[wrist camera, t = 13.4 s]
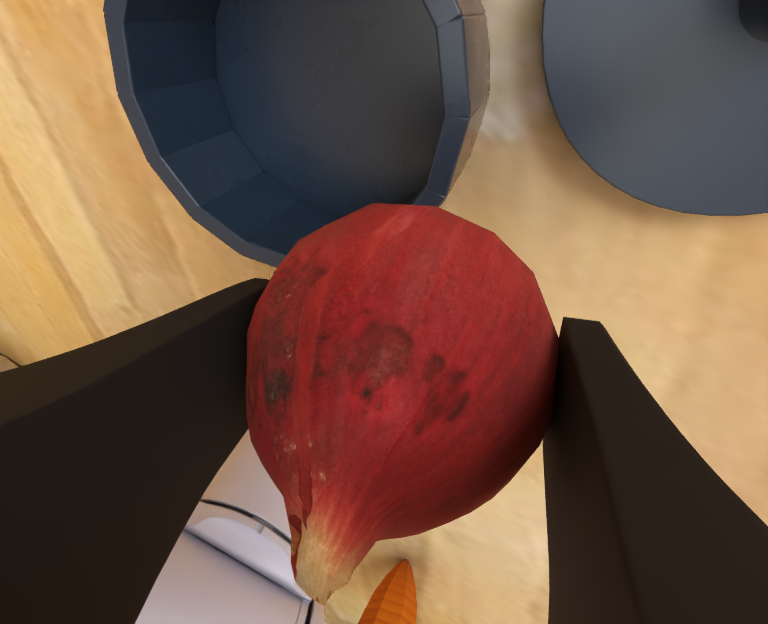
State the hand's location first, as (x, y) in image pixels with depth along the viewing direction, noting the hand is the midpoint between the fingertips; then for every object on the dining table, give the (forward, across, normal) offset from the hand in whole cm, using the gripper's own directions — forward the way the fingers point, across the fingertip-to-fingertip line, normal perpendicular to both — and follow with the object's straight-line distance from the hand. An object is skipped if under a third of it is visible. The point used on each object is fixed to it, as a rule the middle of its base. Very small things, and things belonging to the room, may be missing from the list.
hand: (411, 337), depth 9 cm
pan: (+10, +6, -4) cm, 12 cm away
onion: (+3, 0, 0) cm, 3 cm away
